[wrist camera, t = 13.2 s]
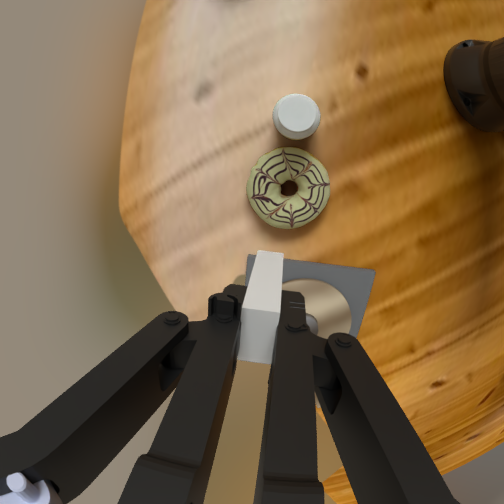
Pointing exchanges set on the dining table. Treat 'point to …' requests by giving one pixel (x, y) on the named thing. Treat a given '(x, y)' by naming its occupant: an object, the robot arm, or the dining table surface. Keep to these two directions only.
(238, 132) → the dining table surface
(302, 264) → the dial plate
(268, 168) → the decorated donut
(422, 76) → the dining table surface
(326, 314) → the dial
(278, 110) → the supplement bottle
